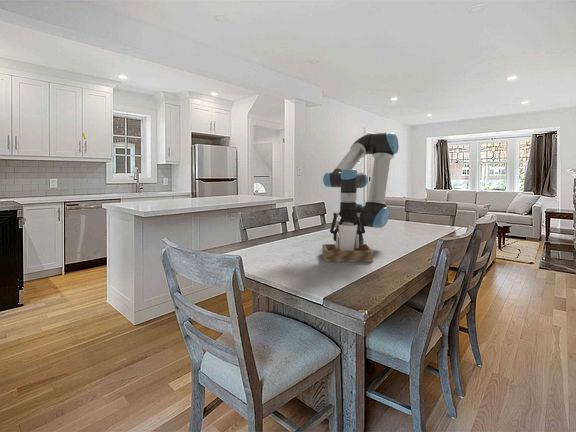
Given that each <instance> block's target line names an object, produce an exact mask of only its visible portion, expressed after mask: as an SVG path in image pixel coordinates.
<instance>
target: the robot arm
mask: <svg viewBox="0 0 576 432" xmlns="http://www.w3.org/2000/svg"><path fill="white" fill-rule="evenodd" d="M399 147H400V146H399V140H398V136H397V134H396V133H394V132H381V133H380V132H379V133H378V132H377V133H368V134H365V135H363V136H361V137H359V138H357V140H355V141H354V142H353V143H352V144H351V146H350V148H349V151H348V152H347V153H346V155H345V156H344V157H343V158H342V160H341V161H340V162H339V163H338V164H337V165H336V166H335V168H334V169H333V170H332V172H330V171H329V172H326V173H325V174H324V175H323V178H322V180H323V181H322V182H323V185H324V186H325V187H326V188H327V187H328V188H340V195H339V196H340V197H339V198H340V199H339V201H340V202H339V212H333V219H332V222H331V224H330V229H329V233H330V234H333V236H332V237H333V241H334V244H335V247H336V248H338V244H339V234H338V227H339V225H342V223H353V224H354V225H357V233H356V239H355V244H356V248H359V244H365V241H364V236H363V234H365V233H366V230H365V229H366V228H365V227H367V228H374V229H383V228H385V226H386V225H387V224H388V221H389V218H390V209H389V208H388V207H387V203H386V202H385V198H386V190H387V185H388V179H389V170H390V164H391V160H392V159H394V156H395V155H396V154H398V152H399ZM366 155H372V157H373V159H374V162H373V168H372V175H371V182H370V187H369V194H368V199H367V201H365V204H364V205H363V203H362V202H356V201H357V189H362V188H365V187H366V186H367V185H368V184H369V177H368V175H367V174H365V173H363V172H358V169H356V168H355V166H356V165H357V163H358V162H359V161H360V159H362V158H364V157H365V156H366ZM338 217H340V219H339V222H338V223H337V225H336V222H337V218H338ZM338 224H339V225H338ZM335 226H336V227H335Z"/></svg>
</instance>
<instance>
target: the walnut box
mask: <svg viewBox="0 0 576 432" xmlns="http://www.w3.org/2000/svg"><path fill="white" fill-rule="evenodd" d="M321 252H322V253H321V254H322V256H323V258H324V261H325V262H327V263H328V262H329V263H330V262H332V263H333V262H335V263H336V262H337V263H338V262H339V263H341V262H350V263H351V262H353V263H356V262H358V263H359V262H360V263H363V262H364V263H365V262H366V263H367V262H369V263H370V262H371V263H372V262H374V250H373V249H372V248H370V246H368V245H367V244H366V243H363V244H359V248H356V244H355V245H354V250H353V251H340V244H339V243H338V248H336V247H335V243H322V251H321Z"/></svg>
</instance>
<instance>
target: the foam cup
mask: <svg viewBox="0 0 576 432" xmlns="http://www.w3.org/2000/svg"><path fill="white" fill-rule="evenodd" d="M337 225H339V224H338V223H337ZM356 233H357V225H354V224H353V223H342V225H339V227H338V232H337V234H338V236H339V243H338V244H340V251H353V250H354V245H355V239H356Z"/></svg>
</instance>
